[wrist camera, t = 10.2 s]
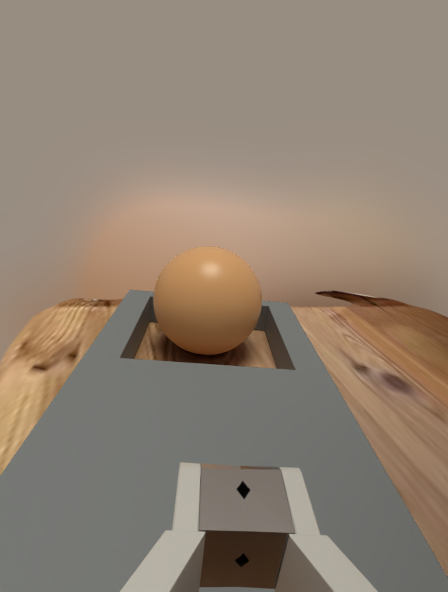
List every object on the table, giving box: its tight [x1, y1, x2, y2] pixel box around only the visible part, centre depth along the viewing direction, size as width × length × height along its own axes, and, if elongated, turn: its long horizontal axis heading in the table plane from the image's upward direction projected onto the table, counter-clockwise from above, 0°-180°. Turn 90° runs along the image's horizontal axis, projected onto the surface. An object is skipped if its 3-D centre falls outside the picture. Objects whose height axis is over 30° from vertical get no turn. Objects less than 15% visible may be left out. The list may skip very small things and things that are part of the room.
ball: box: [153, 246, 262, 355], centre depth 30 cm, size 10×10×10 cm
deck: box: [0, 290, 448, 592], centre depth 24 cm, size 29×18×3 cm, turn 2°
